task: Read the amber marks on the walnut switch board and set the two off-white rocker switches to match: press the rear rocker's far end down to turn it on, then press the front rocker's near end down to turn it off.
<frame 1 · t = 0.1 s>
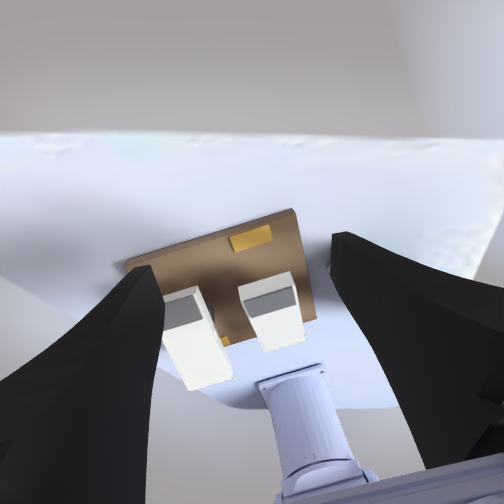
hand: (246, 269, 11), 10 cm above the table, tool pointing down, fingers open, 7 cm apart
switch board: (232, 290, 24), on the table
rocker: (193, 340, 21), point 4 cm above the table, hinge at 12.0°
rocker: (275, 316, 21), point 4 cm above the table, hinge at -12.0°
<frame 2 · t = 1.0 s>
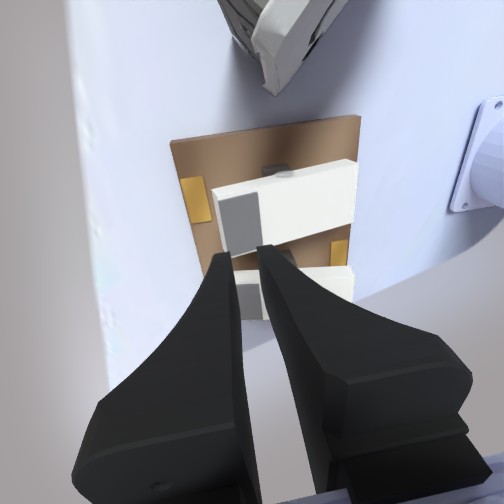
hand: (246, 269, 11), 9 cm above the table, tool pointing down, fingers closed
switch board: (275, 221, 21), on the table
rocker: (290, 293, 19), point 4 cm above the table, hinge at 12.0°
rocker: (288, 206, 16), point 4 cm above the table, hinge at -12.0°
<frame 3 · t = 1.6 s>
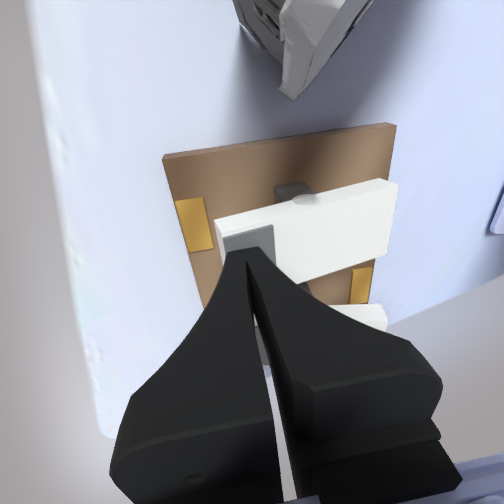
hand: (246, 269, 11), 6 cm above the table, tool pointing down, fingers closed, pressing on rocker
switch board: (287, 246, 18), on the table
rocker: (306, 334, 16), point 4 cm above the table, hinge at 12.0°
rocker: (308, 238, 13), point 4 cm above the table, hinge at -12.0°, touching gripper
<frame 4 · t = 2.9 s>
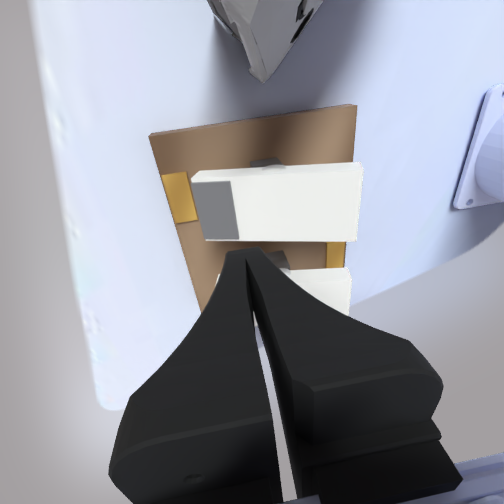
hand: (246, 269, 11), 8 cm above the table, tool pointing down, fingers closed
switch board: (266, 220, 19), on the table
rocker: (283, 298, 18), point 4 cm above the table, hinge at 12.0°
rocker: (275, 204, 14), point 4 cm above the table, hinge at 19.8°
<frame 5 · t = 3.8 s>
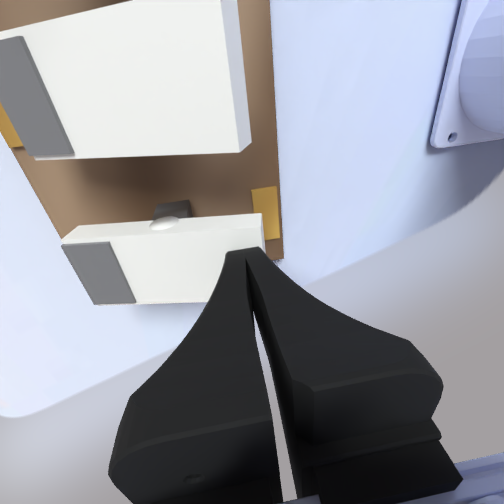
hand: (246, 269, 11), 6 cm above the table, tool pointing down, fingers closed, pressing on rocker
switch board: (164, 156, 14), on the table
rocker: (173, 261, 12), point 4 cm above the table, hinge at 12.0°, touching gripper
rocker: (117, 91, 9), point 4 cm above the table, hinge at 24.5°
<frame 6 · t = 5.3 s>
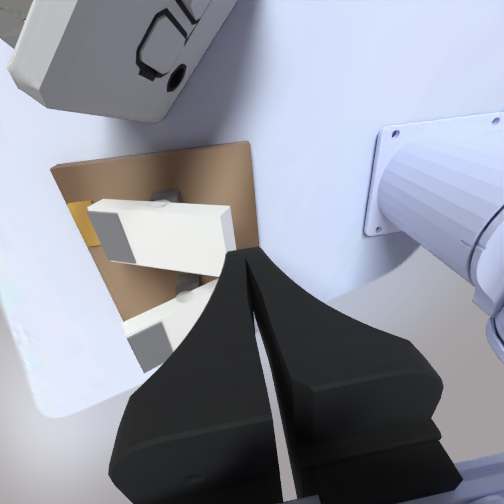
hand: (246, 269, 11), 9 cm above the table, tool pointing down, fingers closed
switch board: (183, 243, 21), on the table
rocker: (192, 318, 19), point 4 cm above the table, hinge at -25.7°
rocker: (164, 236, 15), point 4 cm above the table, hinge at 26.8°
electrical switch: (159, 11, 14), on the table
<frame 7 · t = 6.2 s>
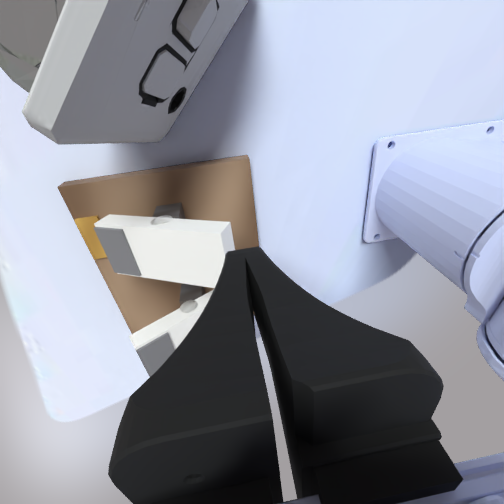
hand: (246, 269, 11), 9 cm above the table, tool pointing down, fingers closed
switch board: (186, 253, 21), on the table
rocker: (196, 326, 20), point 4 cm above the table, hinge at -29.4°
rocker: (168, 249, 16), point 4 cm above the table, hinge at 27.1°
electrical switch: (159, 36, 14), on the table
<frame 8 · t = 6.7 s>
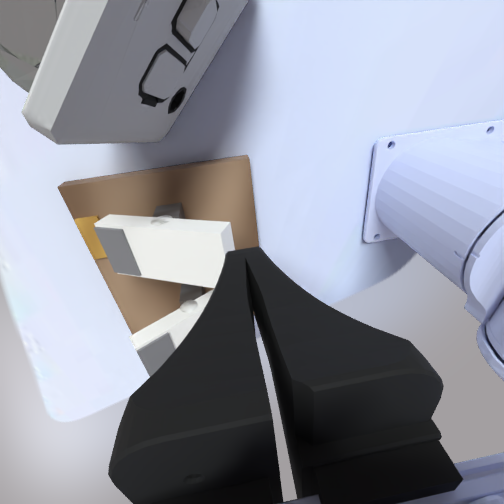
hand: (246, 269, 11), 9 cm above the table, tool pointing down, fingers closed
switch board: (186, 253, 21), on the table
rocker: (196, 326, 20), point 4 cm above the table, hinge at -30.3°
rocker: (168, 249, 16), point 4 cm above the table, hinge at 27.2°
electrical switch: (159, 36, 14), on the table
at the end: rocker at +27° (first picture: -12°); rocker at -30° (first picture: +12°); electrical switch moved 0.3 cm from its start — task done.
